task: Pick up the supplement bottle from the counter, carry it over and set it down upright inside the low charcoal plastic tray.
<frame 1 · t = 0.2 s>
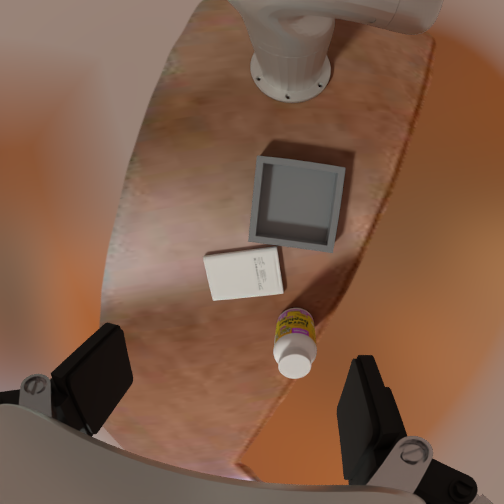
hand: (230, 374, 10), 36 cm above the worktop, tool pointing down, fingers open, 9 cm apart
external hard drive: (244, 272, 49), on the worktop
supplement bottle: (295, 321, 50), on the worktop
tray: (296, 202, 44), on the worktop
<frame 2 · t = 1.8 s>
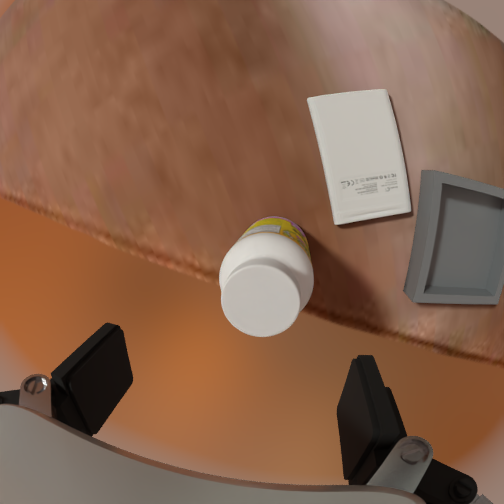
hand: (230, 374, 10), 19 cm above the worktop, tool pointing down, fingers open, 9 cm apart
external hard drive: (360, 154, 25), on the worktop
supplement bottle: (275, 247, 29), on the worktop
tray: (461, 238, 25), on the worktop
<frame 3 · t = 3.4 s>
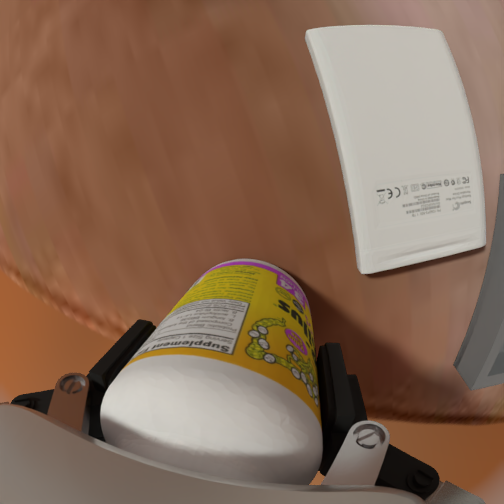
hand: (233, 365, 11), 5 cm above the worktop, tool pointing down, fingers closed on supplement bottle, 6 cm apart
external hard drive: (405, 139, 13), on the worktop
supplement bottle: (249, 310, 16), on the worktop, touching gripper
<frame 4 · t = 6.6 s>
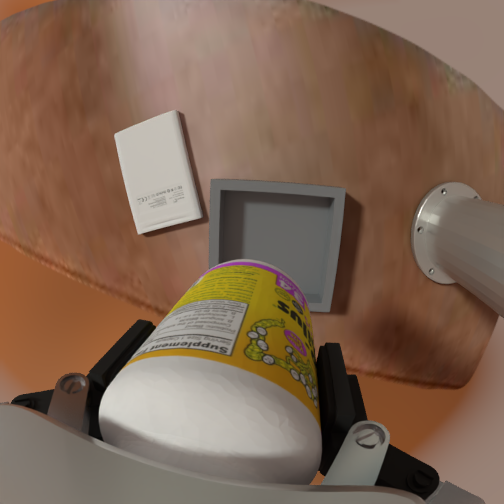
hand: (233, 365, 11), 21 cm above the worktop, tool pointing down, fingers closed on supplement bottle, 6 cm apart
external hard drive: (159, 172, 31), on the worktop
supplement bottle: (249, 311, 16), point 16 cm above the worktop, touching gripper
tray: (274, 242, 31), on the worktop
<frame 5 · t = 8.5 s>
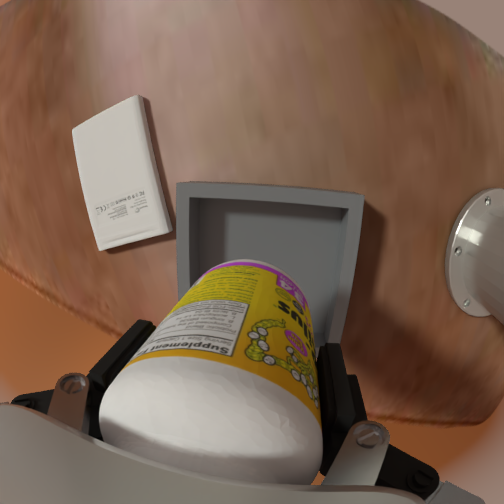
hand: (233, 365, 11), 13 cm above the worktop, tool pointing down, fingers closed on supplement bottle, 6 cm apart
external hard drive: (122, 174, 24), on the worktop
supplement bottle: (249, 311, 15), point 8 cm above the worktop, touching gripper
tray: (266, 265, 23), on the worktop
when the fingers open (7 cm above the worktop, at t = 10.1 s): supplement bottle drops 2 cm, resting on tray.
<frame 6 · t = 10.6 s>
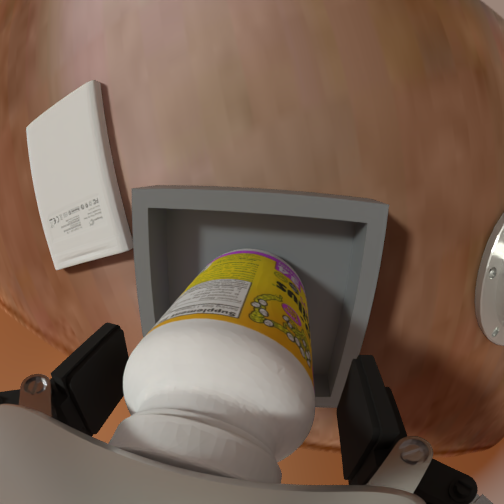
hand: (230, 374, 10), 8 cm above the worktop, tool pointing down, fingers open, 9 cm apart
external hard drive: (78, 178, 18), on the worktop
supplement bottle: (251, 296, 17), resting on tray
tray: (254, 294, 18), on the worktop
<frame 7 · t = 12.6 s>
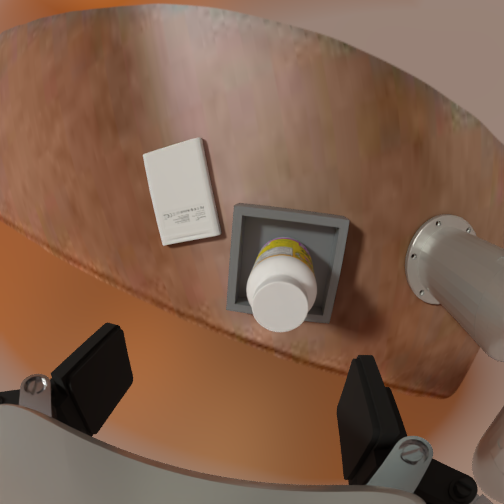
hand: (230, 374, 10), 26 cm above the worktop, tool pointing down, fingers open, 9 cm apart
external hard drive: (183, 192, 36), on the worktop
supplement bottle: (284, 261, 35), resting on tray
tray: (285, 260, 36), on the worktop
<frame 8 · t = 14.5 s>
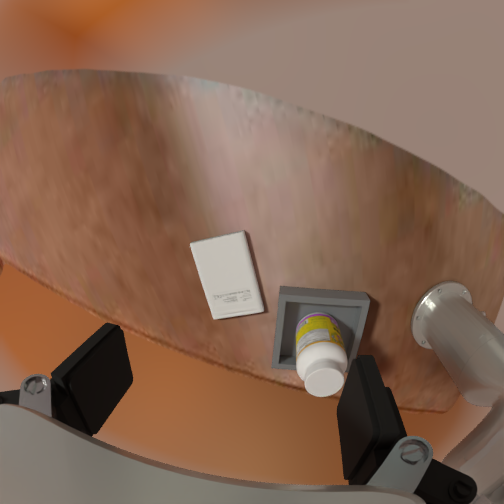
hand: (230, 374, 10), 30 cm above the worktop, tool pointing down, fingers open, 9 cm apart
external hard drive: (229, 274, 43), on the worktop
supplement bottle: (316, 328, 42), resting on tray
tray: (317, 327, 42), on the worktop
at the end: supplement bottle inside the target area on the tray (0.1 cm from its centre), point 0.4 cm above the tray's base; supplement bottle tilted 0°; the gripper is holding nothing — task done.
